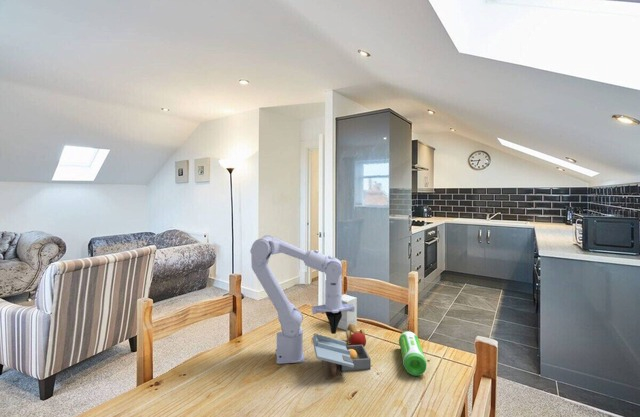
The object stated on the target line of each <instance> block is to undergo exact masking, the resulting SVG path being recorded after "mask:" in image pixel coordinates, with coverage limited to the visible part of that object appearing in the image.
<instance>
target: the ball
mask: <svg viewBox="0 0 640 417" xmlns="http://www.w3.org/2000/svg"><path fill="white" fill-rule="evenodd" d="M349 350H350V351H351V352H350V357H351V358H352V359H357V353H356V351H355V350H353V349H349Z"/></svg>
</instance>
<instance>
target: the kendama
mask: <svg viewBox="0 0 640 417" xmlns="http://www.w3.org/2000/svg"><path fill="white" fill-rule="evenodd" d="M348 328H349V330H348V331H346V330H345V334H346V340H347V344H348V345H363V346H364V348H365V346H366V344H367V338H366V333H365V330H364V329H363V328H360V329H359V331H357V326H356V327H355V325H354V324H350V325H349V327H348Z"/></svg>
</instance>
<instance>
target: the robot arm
mask: <svg viewBox="0 0 640 417" xmlns="http://www.w3.org/2000/svg"><path fill="white" fill-rule="evenodd" d="M319 251H320V250H318V249H315V250H313V249H311V250H307V251H306V250H304V249H302V248H300V247H297V246H296V245H294V244H291V243H289V242H287V241H285V240H282V239H280V238H278V237H273V236H272V235H268V234H267V235H264V236H262V237H261V238H258V239H256V240H255V241H254V242H253V243H252V245H251V248H250V251H249V252H250V255H251V268H252V271H253V273H254V274H255V276H256V278H257V280H258V281H259V283H260V284H261V287H262V288H263V290H264V291H265V293H266V294H267V297H268V298H269V300H270V301H271V303H272V305H273V306H274V308H275V310H276V311H277V318H278V322H279V323H280V328H281V331H279V332H276V348H275V356H276V364H277V365H280V364H292V363H297V364H298V363H304V362H305V353H304V347H303V346H304V345H303V342H304V340H303V339H304V338H303V337H304V330H303V328H302V326H301V325H302V323H303V321H304V315H303V313H302V312H301V310H299V309H298V308H296V306H295V304H293V303H292V302H290V300H289V299H288V296H287V295H286V294H285V291H284V290H283V288H282V287H281V284H280V283H279V281H278V279H277V278H276V276H275V275H274V273H273V271H272V269H271V267H270V266H269V262H270V258H271V255H276V254H285V255H287V256H289V257H293V258H294V259H295V258H296V259H297V260H301V261H303V263H304V265H305V266H307V267H309V268H310V269H311V268H312V269H313V270H316V271H318V272H321V273H324V274H325V284H324V287H325V290H324V291H325V293H324V296H325V297H324V300H325V301H324V304H320V305H315V306H311V309H312V310H311V311H312V315H316V314H322V313H324V314H325V315H326V318H327V320H328V323H329V327H330V333H331V334H332V335H333V334H334V335H335V334H337V329H338V327H337V326H338V323H339V321H340V319H341V318H342V313H341V312H347V311H351V312H354V305H348V304H342V295H343V293H342V292H343V291H342V290H343V284H342V282H343V281H342V278H343V276H342V274H343V266H342V265H343V264H342V262H341V260H340V259H339V258H337V257H334V256H333V257H332V256H331V255H325V254H323V253H322V252H321V253H320V252H319Z"/></svg>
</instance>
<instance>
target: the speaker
mask: <svg viewBox="0 0 640 417" xmlns="http://www.w3.org/2000/svg"><path fill="white" fill-rule="evenodd" d="M398 344H399V348H400V352H401V353H400V354H401V357H402V358H401V359H402V364H403V367H404V369H405V370H406V372H407V373H408V374H410V375H411V376H415V377H417V376H418V377H419V376H421V375H423V374H424V373H425V371H426V370H427V359H426V356H425V355H424V352H423V349H422V346H421V343H420V339H419V337H418V336H417V335H416V333H414V332H412V331H411V330H406V331H403V332H402V333H401V334H400V335H399V338H398Z"/></svg>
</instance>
